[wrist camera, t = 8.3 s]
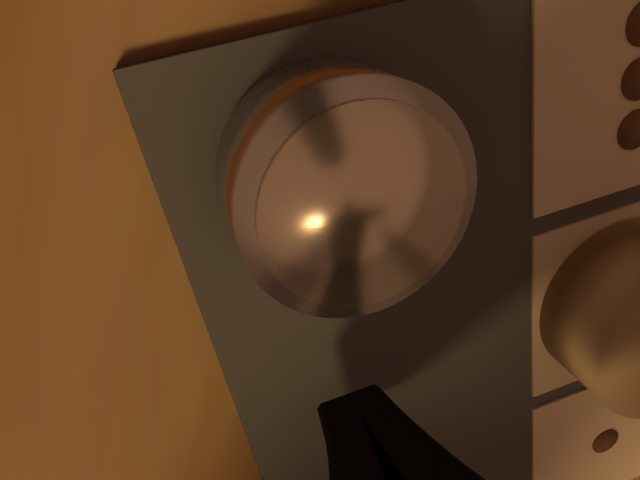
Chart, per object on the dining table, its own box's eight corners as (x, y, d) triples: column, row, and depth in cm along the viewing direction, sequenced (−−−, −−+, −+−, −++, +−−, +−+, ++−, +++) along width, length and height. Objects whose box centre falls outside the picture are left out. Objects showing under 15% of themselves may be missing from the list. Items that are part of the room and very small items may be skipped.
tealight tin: (326, 296, 11) (363, 359, 9) (168, 189, 9) (176, 242, 7) (456, 152, 10) (524, 188, 9) (320, 3, 8) (371, 10, 7)
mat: (309, 603, 16) (312, 617, 15) (113, 68, 8) (111, 71, 8) (690, 441, 18) (701, 450, 18) (801, -95, 11) (824, -98, 10)
